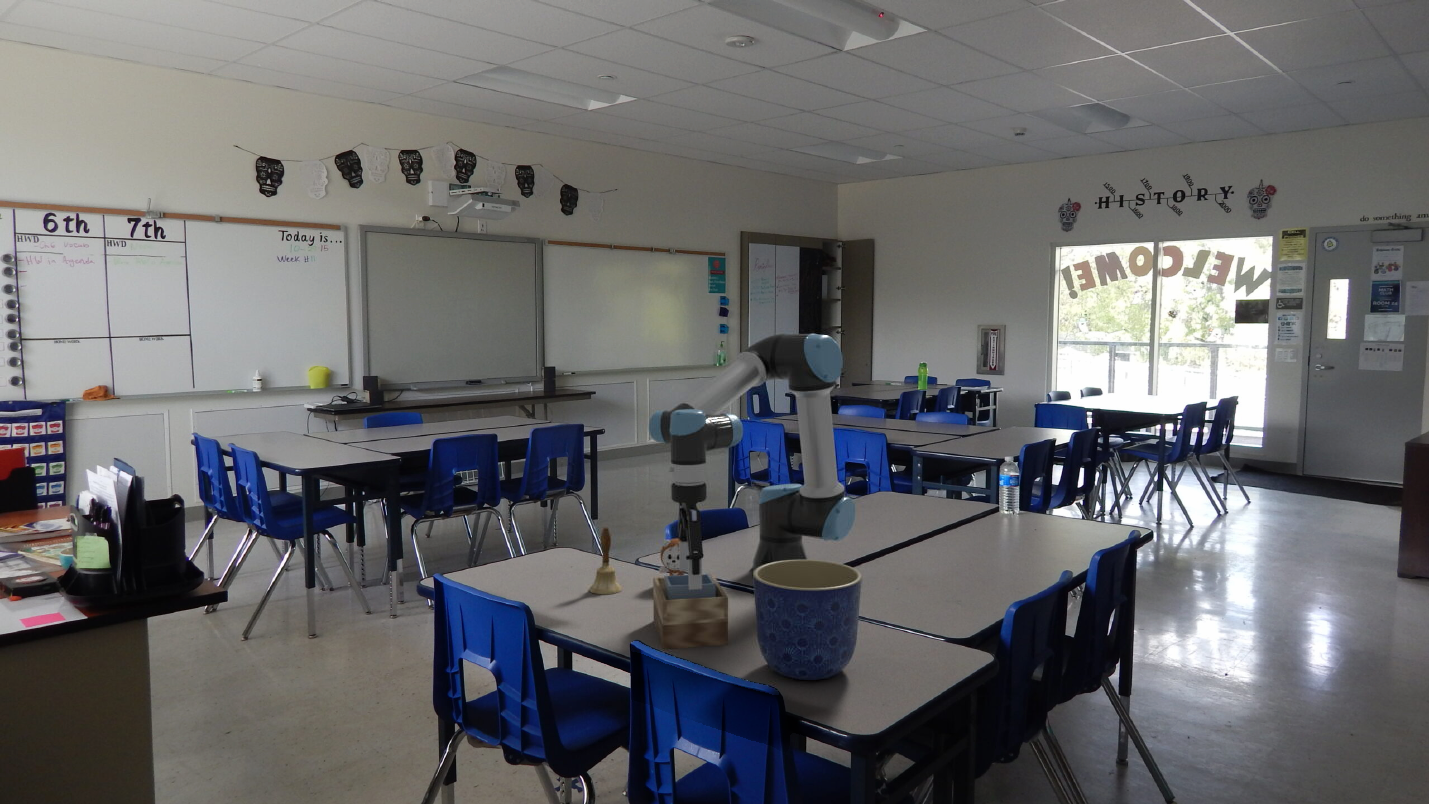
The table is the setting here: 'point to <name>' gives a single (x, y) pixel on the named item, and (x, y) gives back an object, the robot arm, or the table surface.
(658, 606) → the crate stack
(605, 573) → the hand bell
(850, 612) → the planter
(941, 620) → the table surface
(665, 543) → the figurine
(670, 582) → the blue crate
